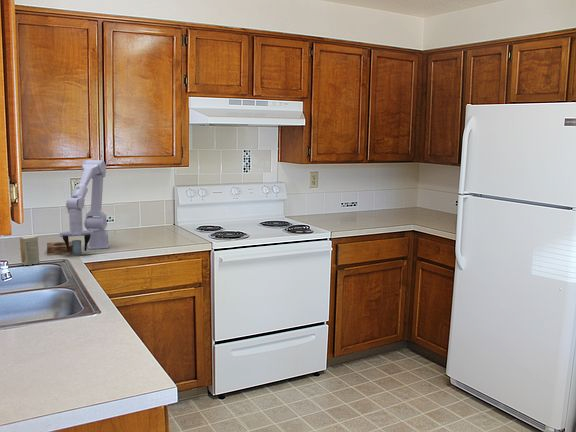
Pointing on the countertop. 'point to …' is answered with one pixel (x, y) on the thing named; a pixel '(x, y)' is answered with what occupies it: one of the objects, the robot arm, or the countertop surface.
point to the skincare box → (29, 250)
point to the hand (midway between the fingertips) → (77, 251)
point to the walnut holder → (58, 248)
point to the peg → (76, 248)
